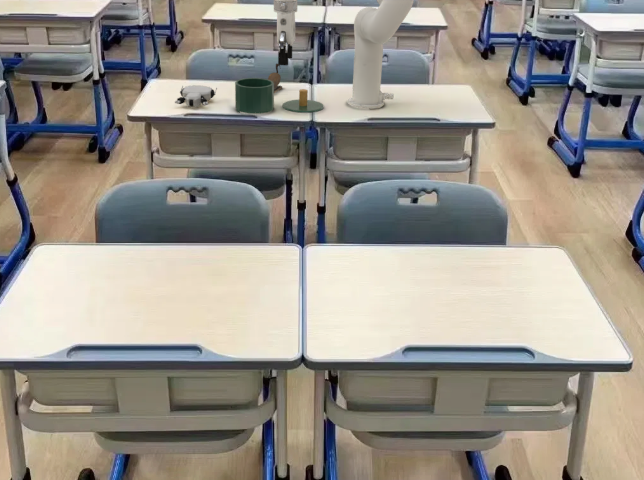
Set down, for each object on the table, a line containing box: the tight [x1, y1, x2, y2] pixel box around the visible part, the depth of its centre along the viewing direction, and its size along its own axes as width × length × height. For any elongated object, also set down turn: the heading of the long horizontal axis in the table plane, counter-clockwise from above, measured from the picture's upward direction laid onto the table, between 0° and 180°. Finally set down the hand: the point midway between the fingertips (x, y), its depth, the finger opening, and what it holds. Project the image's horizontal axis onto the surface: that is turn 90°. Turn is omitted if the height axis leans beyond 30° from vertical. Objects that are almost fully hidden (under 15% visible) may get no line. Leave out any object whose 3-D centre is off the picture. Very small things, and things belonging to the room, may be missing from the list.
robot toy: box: [174, 84, 218, 108], centre depth 276 cm, size 12×4×15 cm
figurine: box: [267, 63, 283, 94], centre depth 293 cm, size 14×4×9 cm, turn 164°
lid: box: [282, 88, 324, 114], centre depth 273 cm, size 14×14×6 cm
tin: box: [234, 77, 275, 115], centre depth 270 cm, size 13×13×9 cm
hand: (285, 61), depth 266 cm, fingers open, 9 cm apart
